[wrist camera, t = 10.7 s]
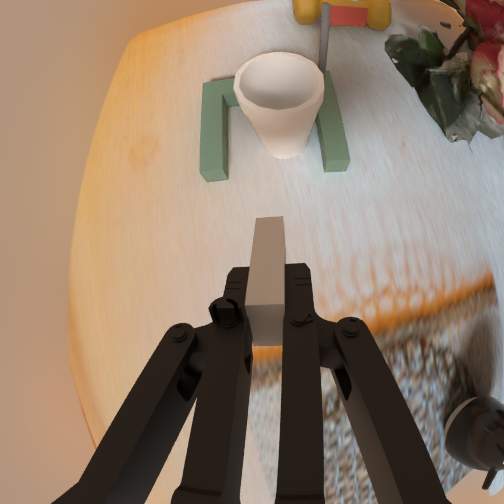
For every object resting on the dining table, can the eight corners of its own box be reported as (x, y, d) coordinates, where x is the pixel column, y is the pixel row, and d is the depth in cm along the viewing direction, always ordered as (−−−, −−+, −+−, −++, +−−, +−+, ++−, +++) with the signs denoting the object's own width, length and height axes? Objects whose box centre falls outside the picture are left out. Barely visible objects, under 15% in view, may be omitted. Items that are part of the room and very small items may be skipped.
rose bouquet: (460, 170, 35) (579, 55, 5) (370, 41, 40) (393, -88, 10) (531, 144, 33) (612, 72, 3) (455, 38, 38) (494, -52, 9)
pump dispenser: (421, 439, 30) (468, 489, 15) (462, 379, 30) (525, 408, 15) (458, 454, 28) (503, 497, 13) (495, 401, 28) (551, 427, 13)
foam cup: (256, 174, 38) (238, 122, 26) (246, 119, 40) (228, 60, 27) (325, 162, 37) (336, 107, 25) (309, 109, 39) (311, 47, 26)
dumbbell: (379, 15, 41) (385, -12, 33) (390, 39, 40) (398, 10, 32) (292, 8, 43) (290, -20, 35) (295, 31, 42) (293, -1, 34)
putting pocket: (369, 170, 36) (412, 93, 19) (206, 182, 39) (153, 111, 22) (348, 85, 39) (364, 1, 22) (208, 96, 42) (173, 16, 24)
